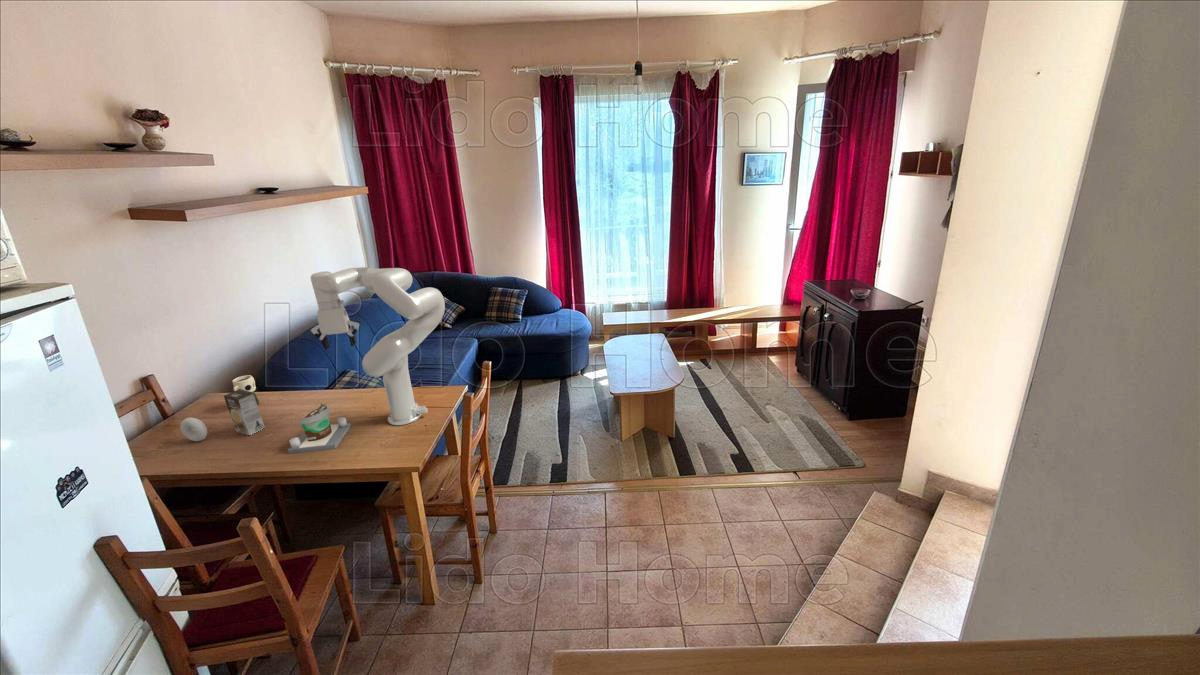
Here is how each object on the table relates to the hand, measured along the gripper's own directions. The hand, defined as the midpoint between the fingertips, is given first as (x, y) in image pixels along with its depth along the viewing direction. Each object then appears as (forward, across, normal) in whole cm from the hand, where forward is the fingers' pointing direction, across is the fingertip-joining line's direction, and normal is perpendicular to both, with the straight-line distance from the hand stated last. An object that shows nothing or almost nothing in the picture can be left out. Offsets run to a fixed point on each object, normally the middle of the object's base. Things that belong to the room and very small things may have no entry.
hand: (340, 346), depth 193 cm
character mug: (+29, +50, -22) cm, 62 cm away
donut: (+29, +56, +6) cm, 64 cm away
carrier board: (+29, +8, +18) cm, 35 cm away
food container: (+28, +7, +18) cm, 34 cm away
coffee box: (+29, +39, +3) cm, 49 cm away
